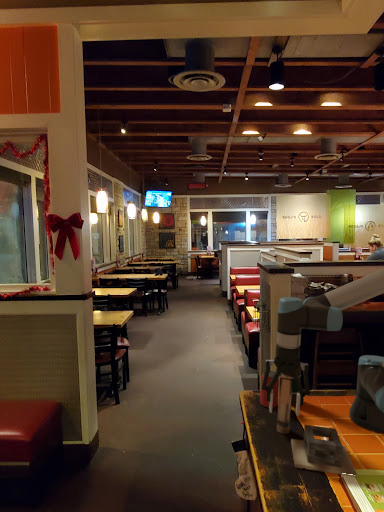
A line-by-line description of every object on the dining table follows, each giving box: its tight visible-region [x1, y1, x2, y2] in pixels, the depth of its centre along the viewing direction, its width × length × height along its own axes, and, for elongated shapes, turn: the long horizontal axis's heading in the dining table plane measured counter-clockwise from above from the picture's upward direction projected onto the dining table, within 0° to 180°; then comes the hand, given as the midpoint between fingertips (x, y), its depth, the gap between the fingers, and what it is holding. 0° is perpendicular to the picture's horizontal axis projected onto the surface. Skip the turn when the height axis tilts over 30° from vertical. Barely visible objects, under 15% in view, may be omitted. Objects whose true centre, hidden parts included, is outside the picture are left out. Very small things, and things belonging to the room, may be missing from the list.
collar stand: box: [290, 424, 357, 476], centre depth 101 cm, size 16×12×7 cm
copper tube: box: [276, 375, 292, 435], centre depth 115 cm, size 4×4×18 cm
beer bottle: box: [279, 366, 302, 406], centre depth 135 cm, size 8×8×24 cm
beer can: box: [259, 370, 280, 409], centre depth 132 cm, size 7×7×12 cm
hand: (283, 412), depth 115 cm, fingers open, 8 cm apart
